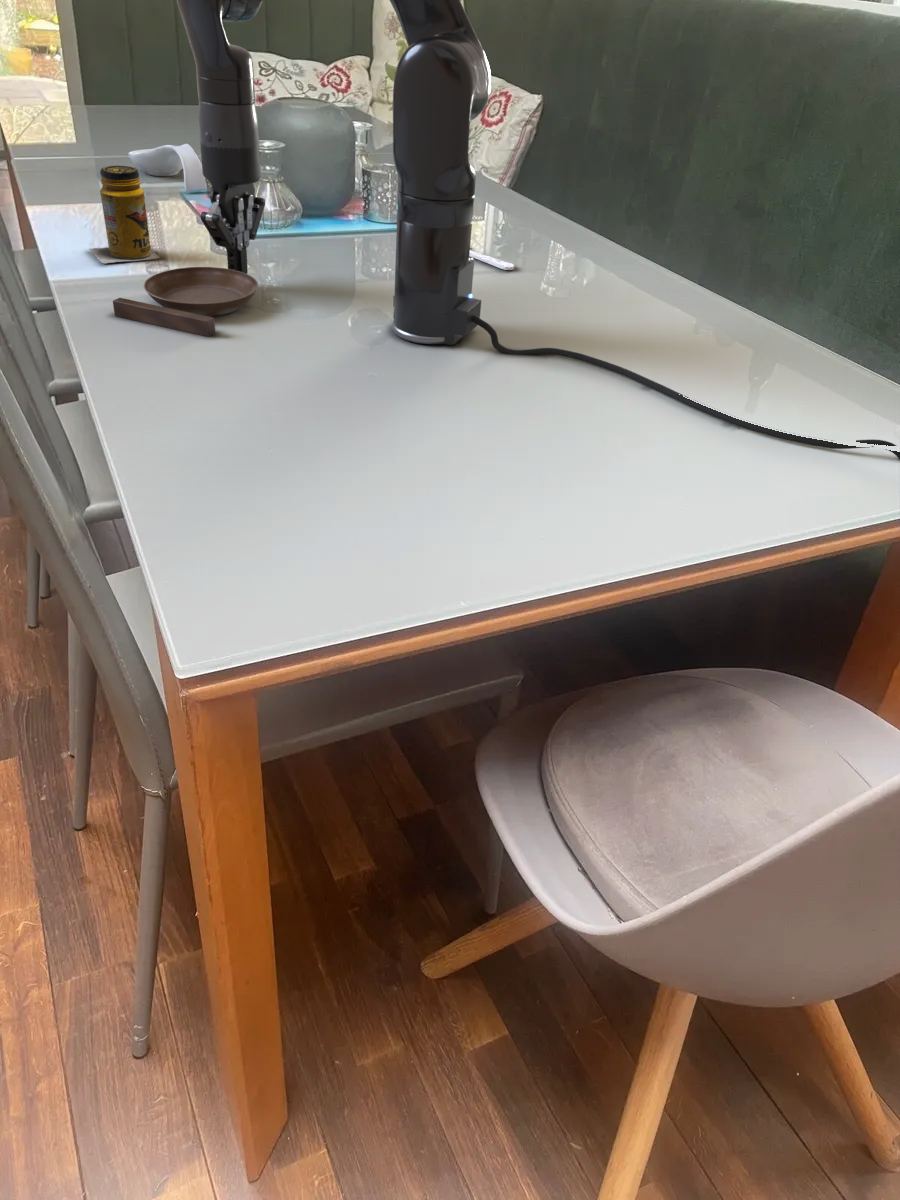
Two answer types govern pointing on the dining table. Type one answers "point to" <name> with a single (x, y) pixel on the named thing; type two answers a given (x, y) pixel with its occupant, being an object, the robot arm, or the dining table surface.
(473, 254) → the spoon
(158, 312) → the rail
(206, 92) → the robot arm
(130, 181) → the condiment
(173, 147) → the spoon rest
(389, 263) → the dining table surface
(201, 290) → the saucer
